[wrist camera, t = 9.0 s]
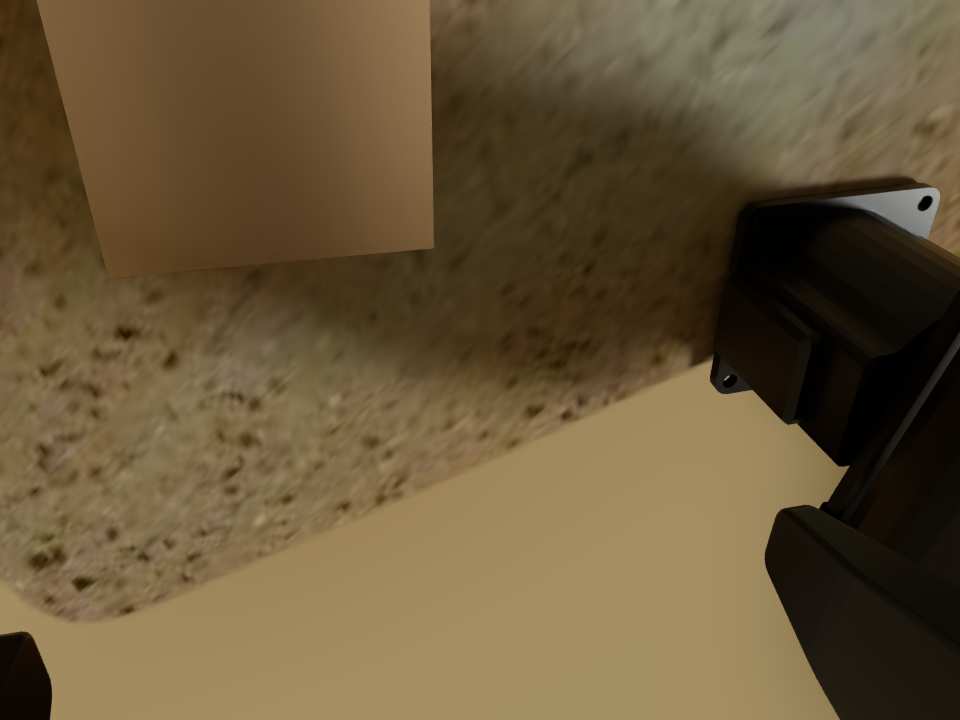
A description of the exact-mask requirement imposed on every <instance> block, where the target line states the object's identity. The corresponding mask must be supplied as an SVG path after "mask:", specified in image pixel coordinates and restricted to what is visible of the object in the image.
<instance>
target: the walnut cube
mask: <svg viewBox="0 0 960 720" xmlns="http://www.w3.org/2000/svg"><path fill="white" fill-rule="evenodd" d="M36 1H37V5H38V9H39V12H40V16H41V20H42V24H43V28H44V32H45V36H46V39H47V43H48V47H49V51H50V55H51V59H52V63H53V66H54V70H55V74H56V78H57V82H58V86H59V90H60V94H61V97H62V101H63V105H64V109H65V113H66V117H67V121H68V124H69V128H70V132H71V136H72V140H73V144H74V148H75V152H76V155H77V159H78V163H79V167H80V171H81V175H82V179H83V182H84V186H85V190H86V194H87V198H88V202H89V206H90V209H91V213H92V217H93V221H94V225H95V229H96V233H97V237H98V240H99V244H100V248H101V252H102V256H103V260H104V264H105V267H106V271H107V275H108V279H110V278H121V277H131V276H142V275H153V274H163V273H174V272H185V271H195V270H206V269H217V268H228V267H238V266H249V265H260V264H270V263H281V262H292V261H303V260H313V259H324V258H335V257H345V256H356V255H367V254H377V253H388V252H399V251H410V250H420V249H431V248H434V220H433V163H432V106H431V49H430V0H36Z"/></svg>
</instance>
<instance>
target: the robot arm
mask: <svg viewBox="0 0 960 720" xmlns="http://www.w3.org/2000/svg"><path fill="white" fill-rule="evenodd" d="M922 198H923V199H922ZM921 199H922V201H921V202H920V203H919V201H920V200H921ZM939 200H940V194H939V191H938V190H937V189H936V188H934V187H932V186H930V185H928V184H926V183H915V184H906V185H897V186H888V187H879V188H870V189H861V190H853V191H844V192H835V193H826V194H817V195H808V196H799V197H790V198H781V199H772V200H764V201H756V202H753V203H750V204H749V205H747V206H746V207H745V208H744V209H743V210H742V212H741V213H740V216H739V219H738V223H737V229H736V234H735V240H734V246H733V251H732V257H731V262H730V268H729V274H728V276H727V278H726V280H725V283H724V289H723V294H722V300H721V305H720V311H719V317H718V322H717V328H716V334H715V339H714V345H713V347H714V350H715V352H714V358H713V363H712V369H711V374H710V382H711V383H712V385H713V386H714V387H715V388H716V390H717V391H718V392H720V393H722V394H730V393H736V392H742V391H748V390H753V391H754V392H755V393H756V394H757V395H758V396H759V397H760V398H761V399H762V400H763V401H764V402H765V403H766V404H767V405H768V406H769V407H770V408H771V410H772V411H773V412H774V413H775V414H776V415H777V416H778V417H779V418H780V419H781V420H782V421H783V422H784V423H786V424H787V425H789V424H796V423H797V424H798V425H799V426H800V427H801V428H802V429H803V430H804V431H805V432H806V433H807V434H808V436H809V437H810V438H811V439H812V440H813V441H814V442H815V443H816V444H817V445H818V446H819V447H820V448H821V449H822V450H823V451H824V452H825V453H826V454H827V455H828V456H829V457H830V458H831V459H832V460H833V461H834V462H835V463H836V464H837V465H838V466H843V467H844V466H849V465H850V466H849V468H848V469H847V471H846V473H845V474H844V476H843V478H842V479H841V481H840V483H839V484H838V486H837V487H836V489H835V491H834V492H833V494H832V495H831V497H830V499H829V500H828V502H823V503H822V505H821V506H820V508H819V509H817V508H815V507H813V506H810V505H802V506H796V507H789V508H784V509H781V510H780V511H779V512H778V513H777V515H776V518H775V521H774V524H773V527H772V530H771V534H770V537H769V540H768V544H767V547H766V551H765V565H766V569H767V572H768V574H769V576H770V579H771V581H772V583H773V585H774V587H775V590H776V592H777V594H778V596H779V598H780V600H781V603H782V605H783V607H784V610H785V612H786V614H787V616H788V618H789V621H790V623H791V625H792V627H793V629H794V632H795V634H796V636H797V638H798V640H799V642H800V645H801V647H802V649H803V651H804V653H805V655H806V658H807V660H808V662H809V664H810V666H811V668H812V670H813V672H814V674H815V676H816V678H817V680H818V682H819V683H820V685H821V687H822V689H823V691H824V693H825V694H826V696H827V698H828V700H829V701H830V703H831V705H832V706H833V708H834V710H835V712H836V713H837V715H838V717H839V719H840V720H960V258H959V257H957V256H955V255H953V254H952V253H950V252H948V251H946V250H944V249H943V248H941V247H939V246H937V245H936V244H934V243H932V242H930V241H929V240H927V238H928V235H929V232H930V229H931V226H932V223H933V220H934V217H935V213H936V210H937V207H938V204H939ZM918 203H919V204H918ZM760 215H762V217H761V219H760V221H759V222H758V223H757V224H756V225H753V223H754V220H755V219H756V218H757V217H758V216H760ZM729 375H730V377H729V378H728V379H727V380H725V381H724V379H725V378H726V377H727V376H729ZM51 704H52V686H51V680H50V677H49V674H48V672H47V669H46V667H45V665H44V662H43V660H42V658H41V655H40V652H39V650H38V648H37V645H36V643H35V641H34V639H33V637H32V636H31V635H30V634H29V633H28V632H16V633H9V634H3V635H0V720H50V713H51Z"/></svg>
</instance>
